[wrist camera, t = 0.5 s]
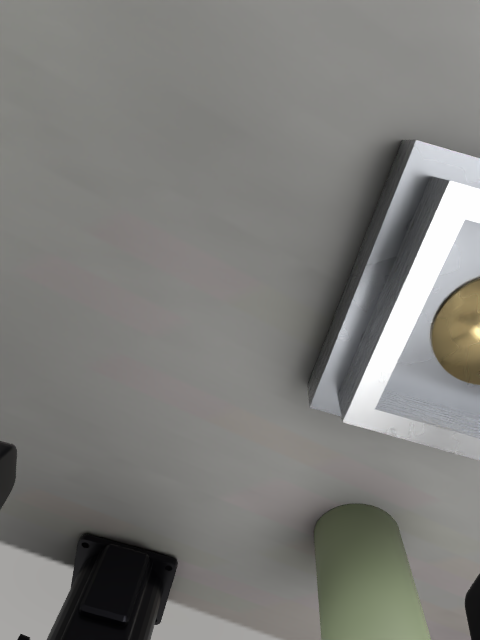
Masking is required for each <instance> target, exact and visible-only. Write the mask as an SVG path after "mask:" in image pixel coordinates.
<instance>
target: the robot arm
mask: <svg viewBox="0 0 480 640" xmlns="http://www.w3.org/2000/svg"><path fill="white" fill-rule="evenodd" d="M16 460H17V449H16V447H15V446H14V445H13V444H9V443H5V442H2V441H0V509H1V508H2V506H3V504H4V503H5V501H6V499H7V497H8V496H9V494H10V492H11V490H12V488H13V486H14V483H15V478H16ZM177 565H178V562H177V560H176V559H174V558H172V557H169V556H165V555H161V554H158V553H154V552H150V551H147V550H143V549H140V548H136V547H132V546H129V545H125V544H121V543H118V542H114V541H110V540H107V539H103V538H99V537H96V536H92V535H88V534H85V535H82V536H81V538H80V540H79V542H78V546H77V552H76V558H75V565H74V571H73V578H72V584H71V590H70V592H69V594H68V596H67V598H66V600H65V602H64V604H63V606H62V609H61V611H60V613H59V615H58V617H57V619H56V621H55V624H54V625H53V627H52V629H51V632H50V634H49V636H48V638H47V640H150V639H151V635H152V632H153V628H154V625H157V624H159V623H160V622H161V619H162V616H163V612H164V609H165V605H166V602H167V599H168V596H169V592H170V589H171V586H172V582H173V579H174V576H175V572H176V569H177ZM465 610H466V615H467V620H468V625H469V630H470V635H471V640H480V574H479V575H478V577H477V578H476V580H475V581H474V583H473V584H472V586H471V587H470V589H469V590H468V592H467V594H466V597H465ZM18 640H30V637H27V636H25V635H22V634H20V636H19V638H18Z"/></svg>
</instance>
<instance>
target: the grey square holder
mask: <svg viewBox="0 0 480 640" xmlns="http://www.w3.org/2000/svg"><path fill="white" fill-rule="evenodd" d="M308 395H309V405H310V408H313V409H317V410H321V411H324V412H328V413H331V414H335V415H338V416H342V421H343V422H344V423H348V424H351V425H355V426H359V427H362V428H366V429H369V430H373V431H376V432H380V433H384V434H387V435H391V436H394V437H398V438H401V439H405V440H408V441H412V442H416V443H419V444H423V445H426V446H430V447H433V448H437V449H441V450H444V451H448V452H451V453H455V454H458V455H462V456H465V457H469V458H473V459H476V460H480V158H477V157H473V156H470V155H466V154H463V153H459V152H456V151H452V150H449V149H446V148H442V147H439V146H435V145H432V144H428V143H425V142H421V141H418V140H402V142H401V145H400V147H399V150H398V152H397V155H396V158H395V160H394V163H393V165H392V168H391V171H390V173H389V176H388V178H387V181H386V183H385V186H384V189H383V191H382V194H381V196H380V199H379V202H378V204H377V207H376V209H375V212H374V215H373V217H372V220H371V222H370V225H369V228H368V230H367V233H366V235H365V238H364V240H363V243H362V246H361V248H360V251H359V253H358V256H357V259H356V261H355V264H354V266H353V269H352V272H351V274H350V277H349V279H348V282H347V285H346V287H345V290H344V292H343V295H342V297H341V300H340V303H339V305H338V308H337V310H336V313H335V316H334V318H333V321H332V323H331V326H330V329H329V331H328V334H327V336H326V339H325V341H324V344H323V347H322V349H321V352H320V354H319V357H318V360H317V362H316V365H315V367H314V370H313V373H312V375H311V378H310V380H309V383H308Z"/></svg>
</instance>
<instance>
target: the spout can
mask: <svg viewBox="0 0 480 640" xmlns="http://www.w3.org/2000/svg"><path fill="white" fill-rule="evenodd" d="M314 544H315V558H316V571H317V585H318V599H319V612H320V626H321V640H431V638H430V634H429V631H428V627H427V624H426V621H425V617H424V614H423V610H422V607H421V604H420V600H419V597H418V593H417V590H416V586H415V583H414V580H413V576H412V573H411V569H410V566H409V562H408V559H407V556H406V552H405V549H404V545H403V542H402V539H401V535H400V532H399V528H398V526H397V523H396V522H395V520H394V519H393V518H392V517H391V516H390V515H389V514H388V513H386V512H385V511H383V510H381V509H379V508H377V507H374V506H371V505H366V504H347V505H342V506H338V507H336V508H333V509H331V510H330V511H328V512H326V513H325V514H324V515H323V516H322V517H321V518H320V519H319V520H318V522H317V524H316V526H315V529H314Z"/></svg>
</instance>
